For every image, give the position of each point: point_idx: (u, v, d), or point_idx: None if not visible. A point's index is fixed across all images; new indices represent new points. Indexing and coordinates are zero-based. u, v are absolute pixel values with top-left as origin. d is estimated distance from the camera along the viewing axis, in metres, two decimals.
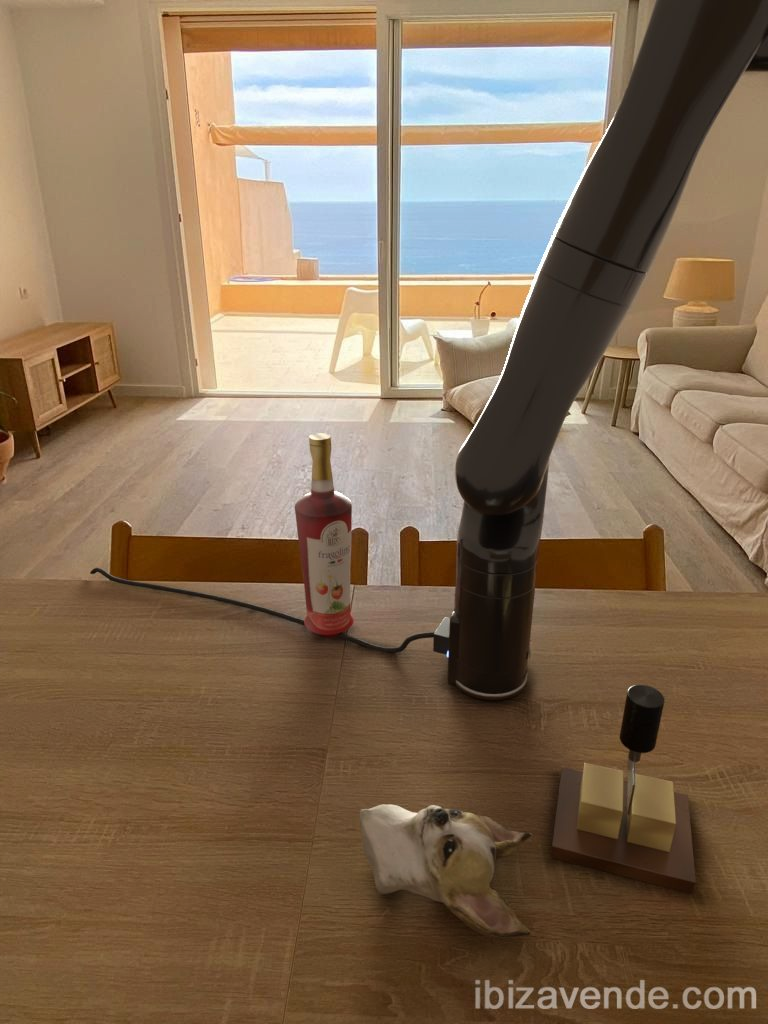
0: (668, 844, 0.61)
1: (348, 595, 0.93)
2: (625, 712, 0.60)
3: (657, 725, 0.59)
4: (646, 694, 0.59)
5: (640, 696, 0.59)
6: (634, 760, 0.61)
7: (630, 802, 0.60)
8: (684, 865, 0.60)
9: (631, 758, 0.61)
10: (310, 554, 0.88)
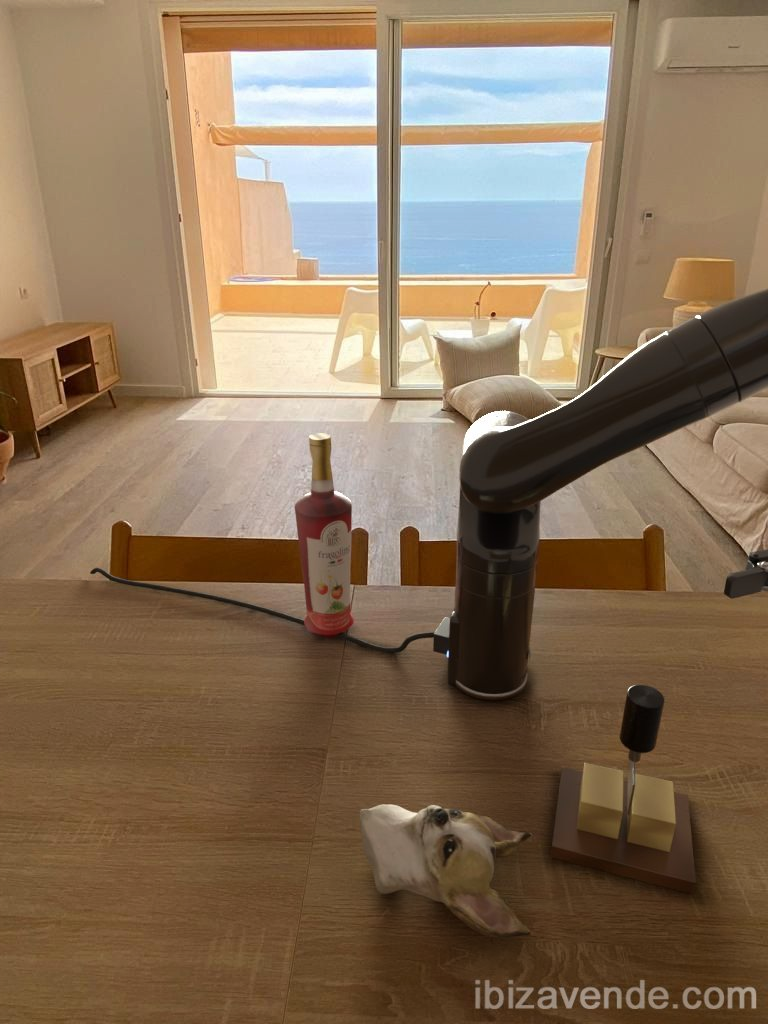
0: (668, 844, 0.61)
1: (348, 595, 0.93)
2: (625, 712, 0.60)
3: (657, 725, 0.59)
4: (646, 694, 0.59)
5: (640, 696, 0.59)
6: (634, 760, 0.61)
7: (630, 802, 0.60)
8: (684, 865, 0.60)
9: (631, 758, 0.61)
10: (310, 554, 0.88)
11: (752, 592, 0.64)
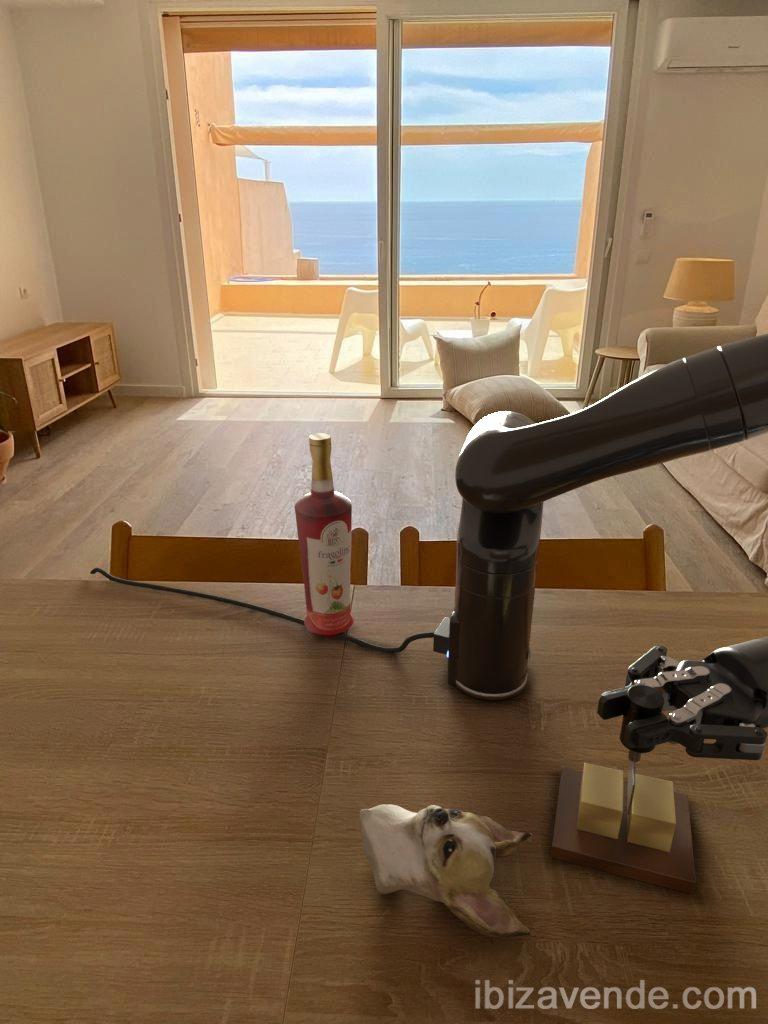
0: (668, 844, 0.61)
1: (348, 595, 0.93)
2: (625, 712, 0.60)
3: None
4: (646, 694, 0.59)
5: (640, 696, 0.59)
6: (634, 760, 0.61)
7: (630, 802, 0.60)
8: (684, 865, 0.60)
9: (631, 758, 0.61)
10: (310, 554, 0.88)
11: None
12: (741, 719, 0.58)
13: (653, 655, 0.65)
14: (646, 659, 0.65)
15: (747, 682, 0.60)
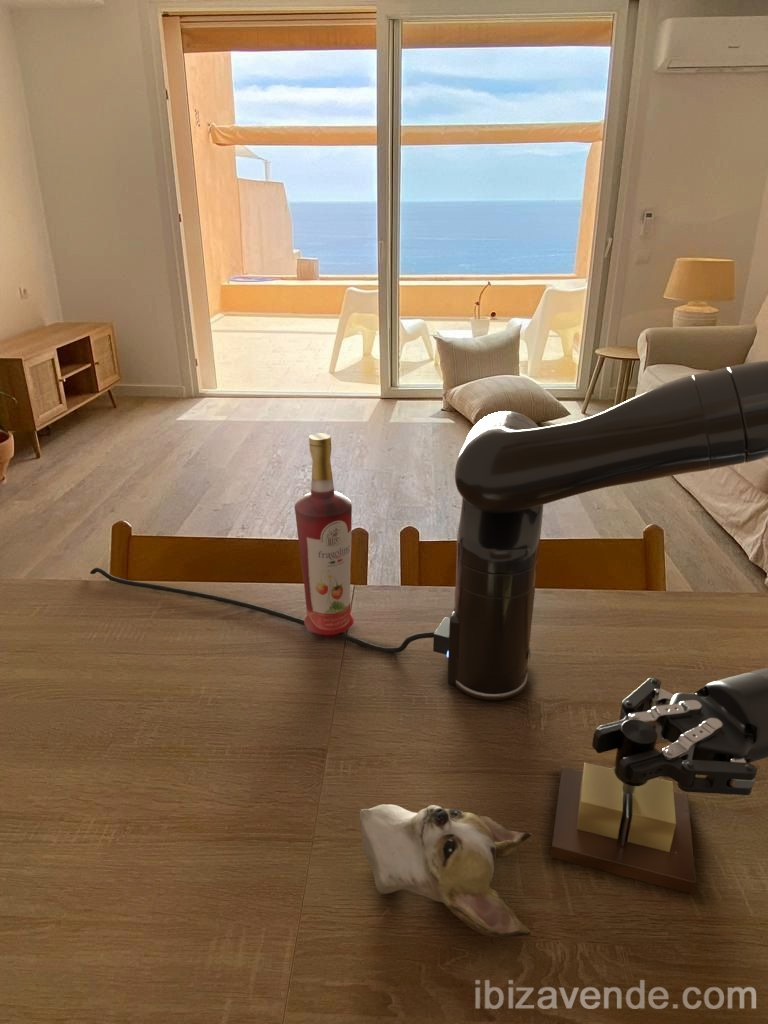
0: (668, 844, 0.61)
1: (348, 595, 0.93)
2: (619, 746, 0.61)
3: None
4: (639, 729, 0.61)
5: (634, 731, 0.60)
6: (628, 792, 0.63)
7: (624, 834, 0.61)
8: (684, 865, 0.60)
9: (625, 790, 0.63)
10: (310, 554, 0.88)
11: None
12: (732, 754, 0.60)
13: (647, 688, 0.67)
14: (640, 692, 0.66)
15: (738, 716, 0.62)
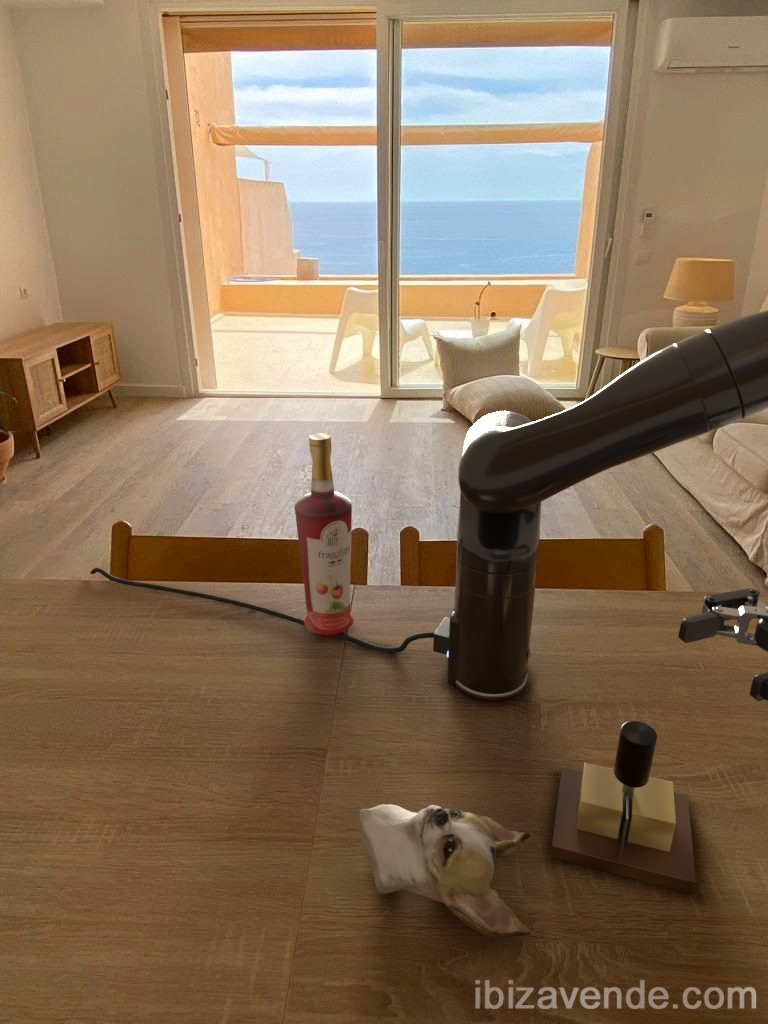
0: (668, 844, 0.61)
1: (348, 595, 0.93)
2: (619, 748, 0.61)
3: (650, 761, 0.60)
4: (639, 731, 0.61)
5: (633, 733, 0.60)
6: (628, 793, 0.63)
7: (624, 835, 0.62)
8: (684, 865, 0.60)
9: (625, 791, 0.63)
10: (310, 554, 0.88)
11: (706, 637, 0.65)
12: None
13: (740, 594, 0.67)
14: (730, 594, 0.67)
15: None
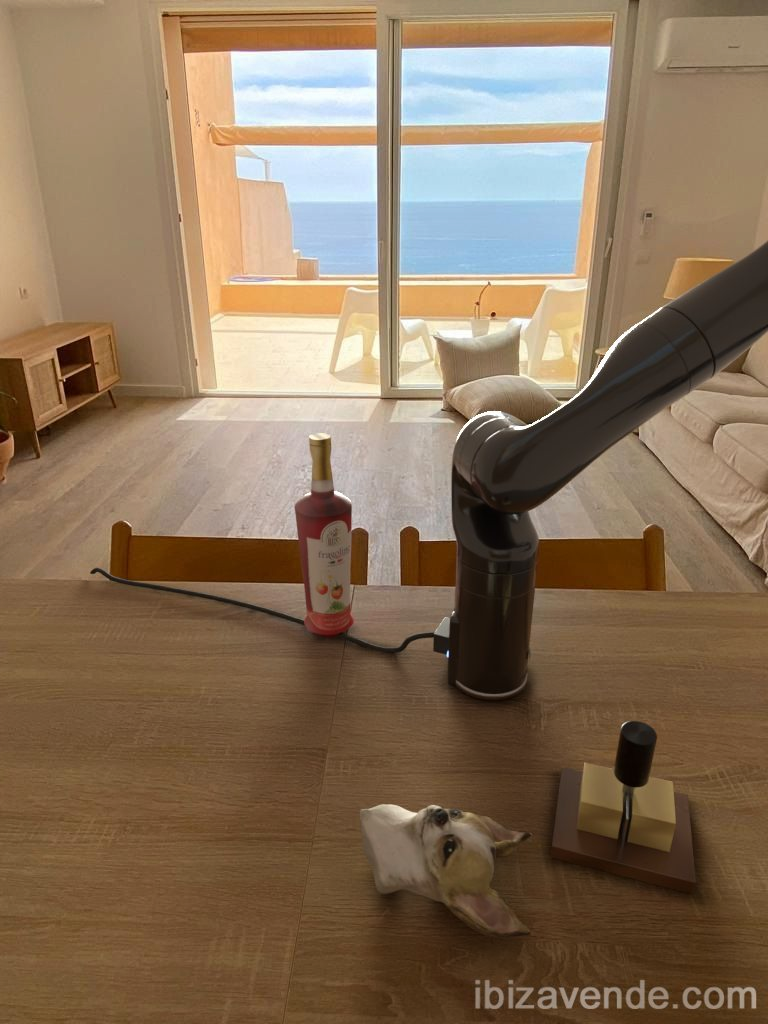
0: (668, 844, 0.61)
1: (348, 595, 0.93)
2: (619, 748, 0.61)
3: (650, 761, 0.60)
4: (639, 731, 0.61)
5: (633, 733, 0.60)
6: (628, 793, 0.63)
7: (624, 835, 0.62)
8: (684, 865, 0.60)
9: (625, 791, 0.63)
10: (310, 554, 0.88)
11: None
12: None
13: None
14: None
15: None
